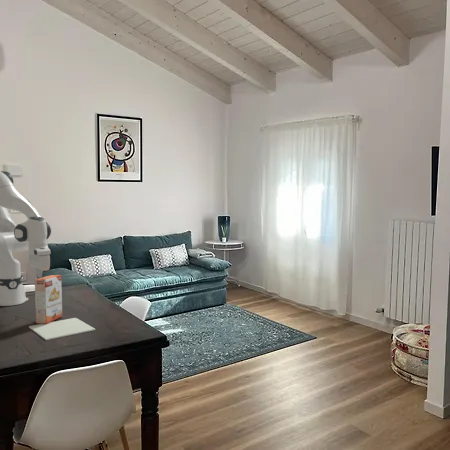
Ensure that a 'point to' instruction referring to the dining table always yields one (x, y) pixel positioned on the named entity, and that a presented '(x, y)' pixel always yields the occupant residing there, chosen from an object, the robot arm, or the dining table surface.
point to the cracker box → (48, 299)
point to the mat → (61, 328)
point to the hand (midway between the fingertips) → (39, 277)
